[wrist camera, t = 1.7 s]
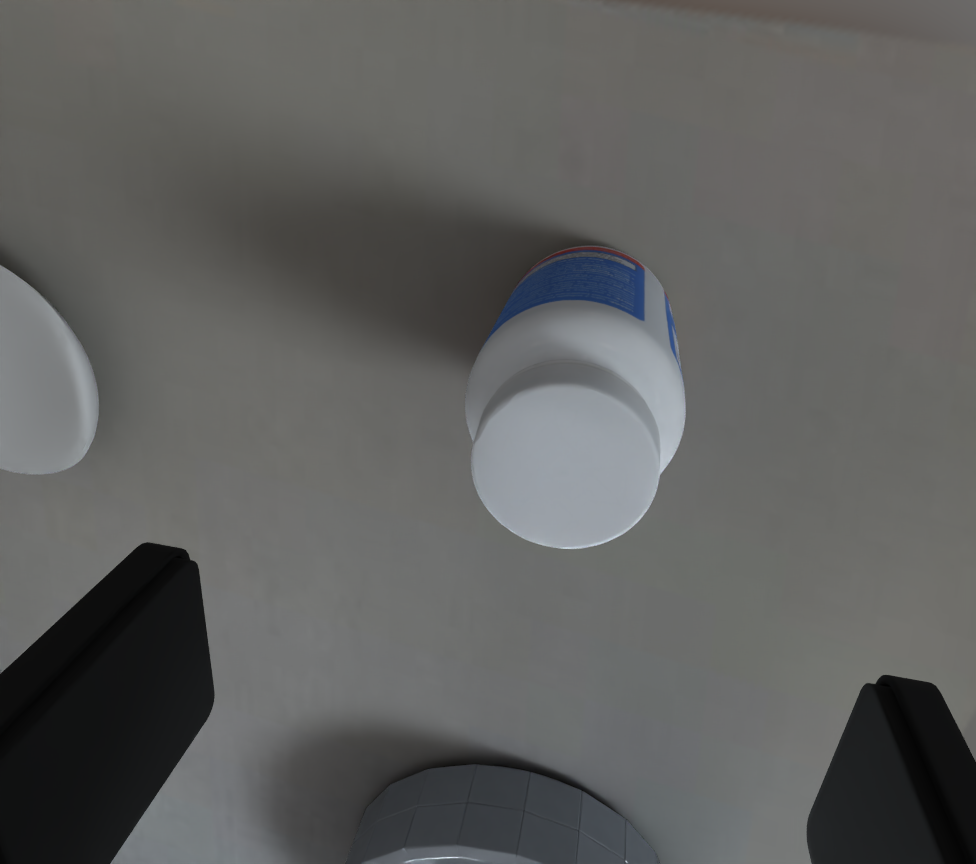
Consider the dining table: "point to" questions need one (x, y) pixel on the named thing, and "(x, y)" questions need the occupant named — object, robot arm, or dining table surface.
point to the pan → (492, 822)
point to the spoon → (42, 384)
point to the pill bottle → (576, 399)
